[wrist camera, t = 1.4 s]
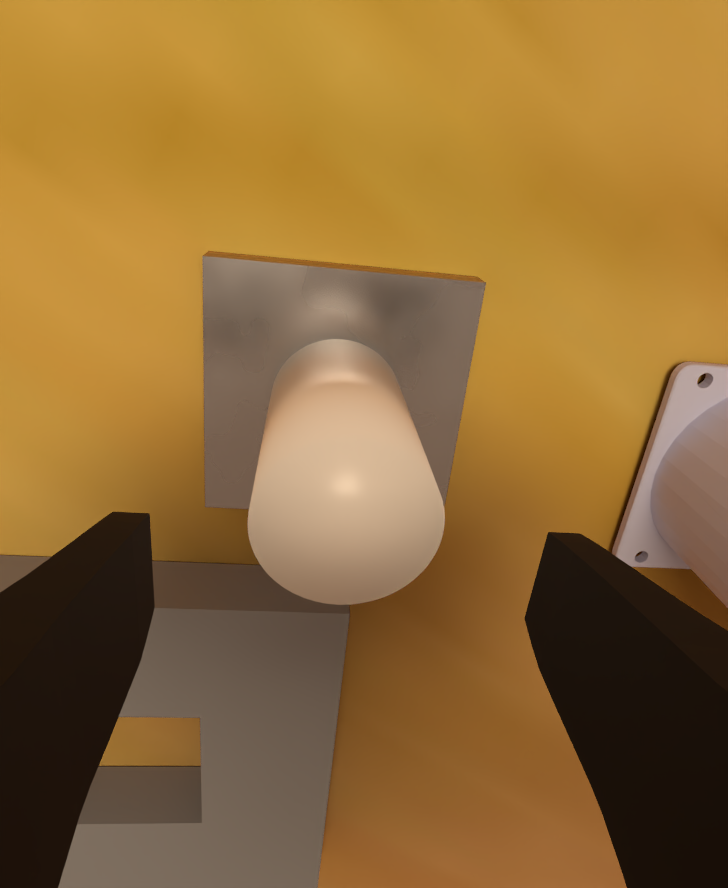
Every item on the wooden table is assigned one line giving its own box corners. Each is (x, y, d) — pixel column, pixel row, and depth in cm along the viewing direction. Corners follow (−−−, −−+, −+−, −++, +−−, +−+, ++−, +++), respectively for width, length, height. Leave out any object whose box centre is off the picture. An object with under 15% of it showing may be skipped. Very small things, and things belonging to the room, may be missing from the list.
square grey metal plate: (477, 276, 18) (485, 282, 17) (436, 503, 21) (442, 518, 20) (208, 250, 17) (202, 255, 16) (210, 492, 20) (205, 507, 20)
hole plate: (346, 568, 22) (350, 618, 20) (316, 836, 29) (316, 897, 27) (-115, 550, 21) (-173, 602, 18) (-34, 840, 27) (-68, 906, 25)
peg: (408, 344, 18) (459, 444, 11) (392, 463, 19) (429, 607, 13) (273, 333, 17) (249, 430, 11) (268, 456, 19) (245, 601, 13)
